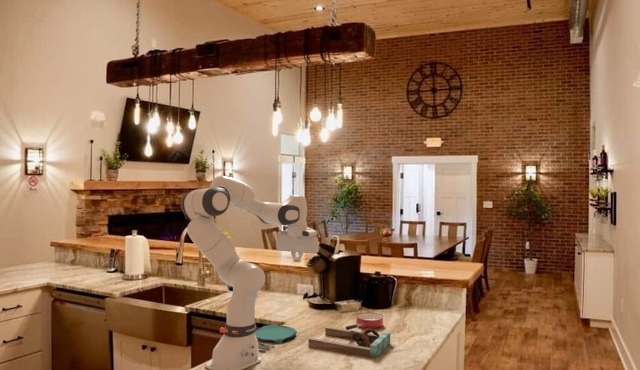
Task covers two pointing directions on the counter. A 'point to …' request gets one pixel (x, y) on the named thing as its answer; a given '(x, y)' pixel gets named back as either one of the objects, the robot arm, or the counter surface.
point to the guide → (352, 349)
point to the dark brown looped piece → (364, 336)
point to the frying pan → (367, 321)
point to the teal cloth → (273, 334)
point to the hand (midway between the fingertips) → (297, 261)
